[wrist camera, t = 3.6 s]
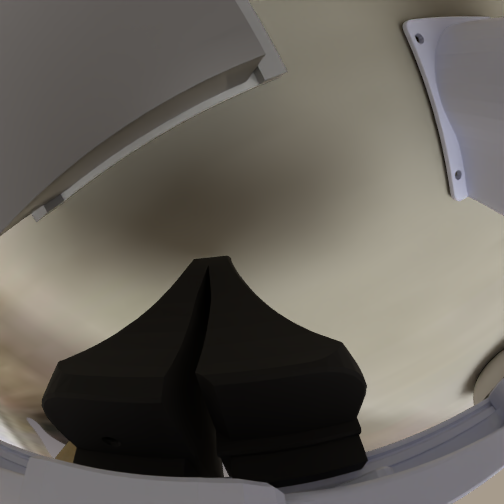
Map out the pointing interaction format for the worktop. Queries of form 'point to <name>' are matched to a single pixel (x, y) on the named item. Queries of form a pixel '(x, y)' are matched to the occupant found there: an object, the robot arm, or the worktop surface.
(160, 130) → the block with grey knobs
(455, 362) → the worktop surface
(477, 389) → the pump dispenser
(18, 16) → the grey open box
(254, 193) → the worktop surface
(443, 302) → the worktop surface
